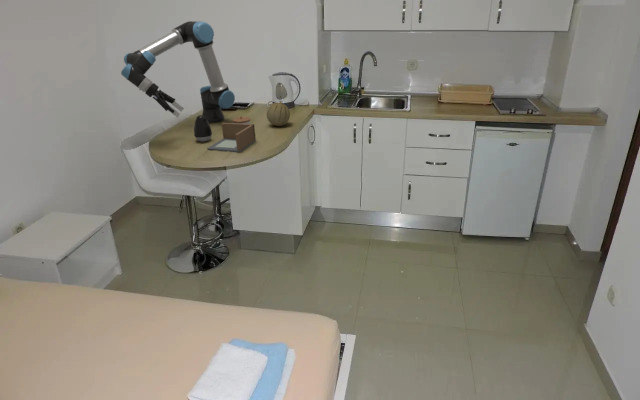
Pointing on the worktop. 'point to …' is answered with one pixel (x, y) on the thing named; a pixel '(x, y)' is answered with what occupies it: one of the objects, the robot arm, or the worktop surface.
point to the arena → (235, 137)
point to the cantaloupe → (278, 114)
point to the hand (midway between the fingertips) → (181, 112)
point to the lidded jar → (241, 120)
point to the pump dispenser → (202, 129)
